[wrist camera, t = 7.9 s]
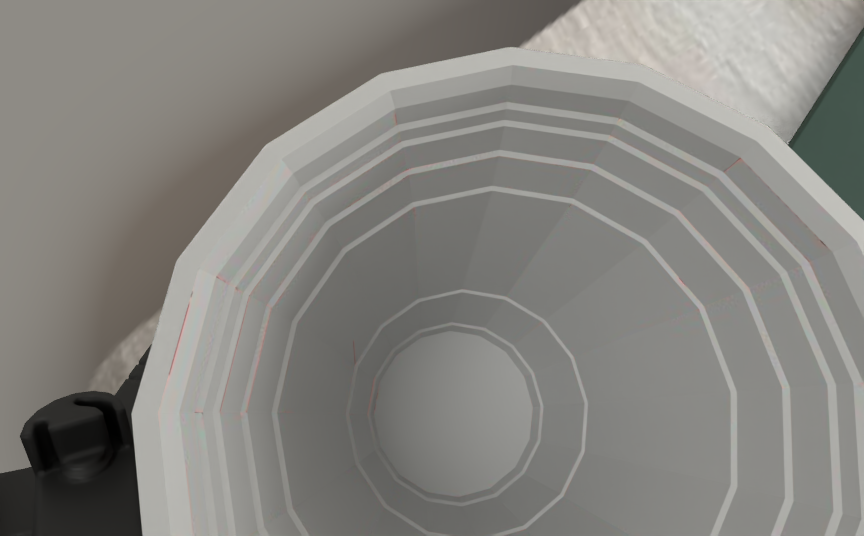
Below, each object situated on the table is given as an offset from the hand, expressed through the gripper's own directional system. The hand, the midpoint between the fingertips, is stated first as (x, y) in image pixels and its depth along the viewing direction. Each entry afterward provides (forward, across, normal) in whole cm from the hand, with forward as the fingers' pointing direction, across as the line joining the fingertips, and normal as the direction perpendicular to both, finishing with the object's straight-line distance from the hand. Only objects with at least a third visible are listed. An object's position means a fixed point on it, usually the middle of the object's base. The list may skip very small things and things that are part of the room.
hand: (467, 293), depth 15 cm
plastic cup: (+1, 0, -5) cm, 6 cm away
